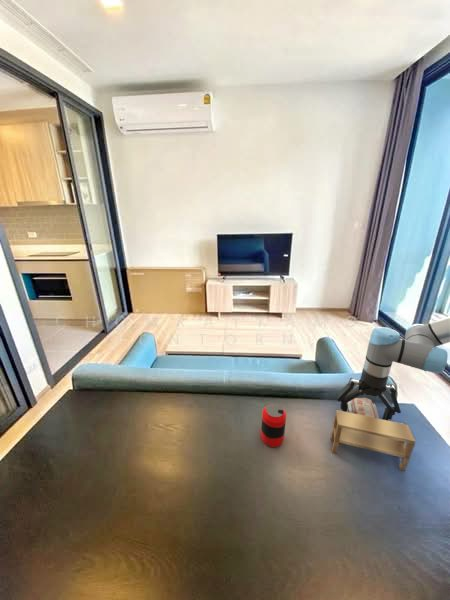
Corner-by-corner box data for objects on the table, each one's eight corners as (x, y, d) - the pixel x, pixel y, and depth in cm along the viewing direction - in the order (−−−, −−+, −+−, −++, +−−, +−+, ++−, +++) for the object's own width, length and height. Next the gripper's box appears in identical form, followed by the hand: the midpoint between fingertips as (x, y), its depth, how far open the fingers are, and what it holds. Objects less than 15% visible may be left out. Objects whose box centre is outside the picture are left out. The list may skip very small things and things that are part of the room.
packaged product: (389, 435, 80) (354, 427, 83) (385, 446, 81) (352, 438, 84) (377, 397, 95) (348, 391, 99) (374, 407, 97) (346, 401, 100)
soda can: (282, 450, 80) (285, 422, 76) (258, 443, 82) (260, 415, 78) (284, 431, 87) (287, 404, 82) (263, 426, 89) (265, 399, 85)
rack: (398, 453, 79) (407, 424, 75) (404, 471, 74) (415, 441, 69) (330, 437, 85) (336, 409, 80) (332, 453, 79) (338, 424, 75)
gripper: (414, 371, 83) (398, 420, 91) (334, 359, 90) (326, 405, 98) (423, 386, 77) (405, 437, 84) (337, 371, 84) (327, 420, 91)
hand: (363, 420), depth 91 cm, fingers open, 13 cm apart
